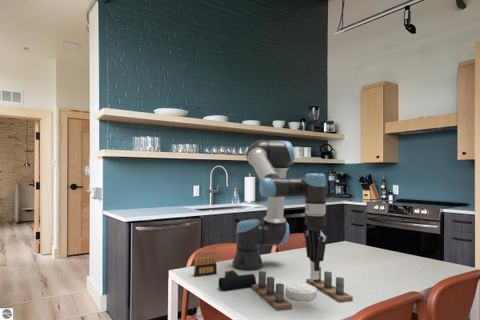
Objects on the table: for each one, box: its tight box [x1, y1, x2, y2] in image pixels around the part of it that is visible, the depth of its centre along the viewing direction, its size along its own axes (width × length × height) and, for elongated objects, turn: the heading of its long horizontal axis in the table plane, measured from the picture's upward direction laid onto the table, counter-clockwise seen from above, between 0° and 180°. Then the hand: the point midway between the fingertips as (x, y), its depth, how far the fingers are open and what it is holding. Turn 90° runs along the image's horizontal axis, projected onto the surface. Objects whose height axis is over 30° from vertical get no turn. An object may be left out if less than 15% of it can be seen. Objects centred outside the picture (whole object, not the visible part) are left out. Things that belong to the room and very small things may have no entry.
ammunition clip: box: [193, 248, 218, 278], centre depth 161 cm, size 11×2×12 cm, turn 117°
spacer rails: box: [251, 266, 354, 312], centre depth 138 cm, size 24×32×8 cm
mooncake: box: [285, 282, 318, 302], centre depth 137 cm, size 12×12×4 cm
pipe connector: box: [218, 270, 257, 292], centre depth 147 cm, size 12×5×15 cm
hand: (314, 278), depth 128 cm, fingers closed
